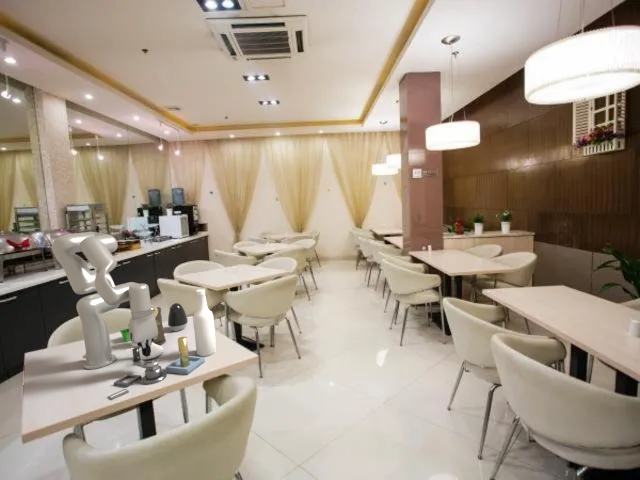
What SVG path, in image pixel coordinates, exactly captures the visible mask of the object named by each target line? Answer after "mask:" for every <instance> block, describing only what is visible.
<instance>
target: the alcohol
mask: <svg viewBox="0 0 640 480" xmlns="http://www.w3.org/2000/svg"><path fill="white" fill-rule="evenodd" d="M195 295H196V310H195V312H194V313H193V314H192V315H193V318H192V321H193V331H194V339H195V341H194V342H195V349H196V354H197V356H198V357H204V358H205V357H209V356H212V355H214V354H215V353H216V351H217V342H216V341H217V340H216V333H215V332H216V329H215V321H214V320H215V319H214V314H213V311H212V310H210V309H209V307H208V302H207V297H206V289H204V288H200V289H197V290H195Z"/></svg>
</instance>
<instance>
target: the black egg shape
mask: <svg viewBox="0 0 640 480" xmlns="http://www.w3.org/2000/svg"><path fill="white" fill-rule="evenodd" d="M168 311H169V312H168V317H167V326H168V328H169V329H170V330H171V331H174V332H181V331H182V330H184V329H185V328H186V327H187V325H188V321H189V320H188V317H187V313H186V311H185V309H184V307H183V305H182V304H181V303H178V302H176V303H175V302H174V303H173V304H172V305H171V306H170V307H169V310H168Z"/></svg>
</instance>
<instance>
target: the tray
mask: <svg viewBox="0 0 640 480" xmlns="http://www.w3.org/2000/svg"><path fill="white" fill-rule="evenodd" d="M189 362H190V365H189V366H187V367H181V364H180V357H179V358H177V359H175V360H174V361H172V362H171V363H169V364H167V366H165V372H166V373H171V374H180V375H181V374H182V375H190V374H191V373H192V372H194V371H195V370H197V369H198V368H199V367H200V366H202V365H203V364H204V363H205V362H206V361H205V356H204V357H202V356H194V355H189ZM194 369H195V370H194ZM193 370H194V371H193Z"/></svg>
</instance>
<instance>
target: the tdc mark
mask: <svg viewBox="0 0 640 480" xmlns="http://www.w3.org/2000/svg"><path fill="white" fill-rule="evenodd" d="M128 393H130V391H129V390H128V389H126V388H123V389H121V390H119V391H117V392H115V393H112V394H110V395H108V396H107V398H108V399H110V400H112V401H113V400H115V399H116V398H119V397H122V396H123V395H125V394H128Z"/></svg>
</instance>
